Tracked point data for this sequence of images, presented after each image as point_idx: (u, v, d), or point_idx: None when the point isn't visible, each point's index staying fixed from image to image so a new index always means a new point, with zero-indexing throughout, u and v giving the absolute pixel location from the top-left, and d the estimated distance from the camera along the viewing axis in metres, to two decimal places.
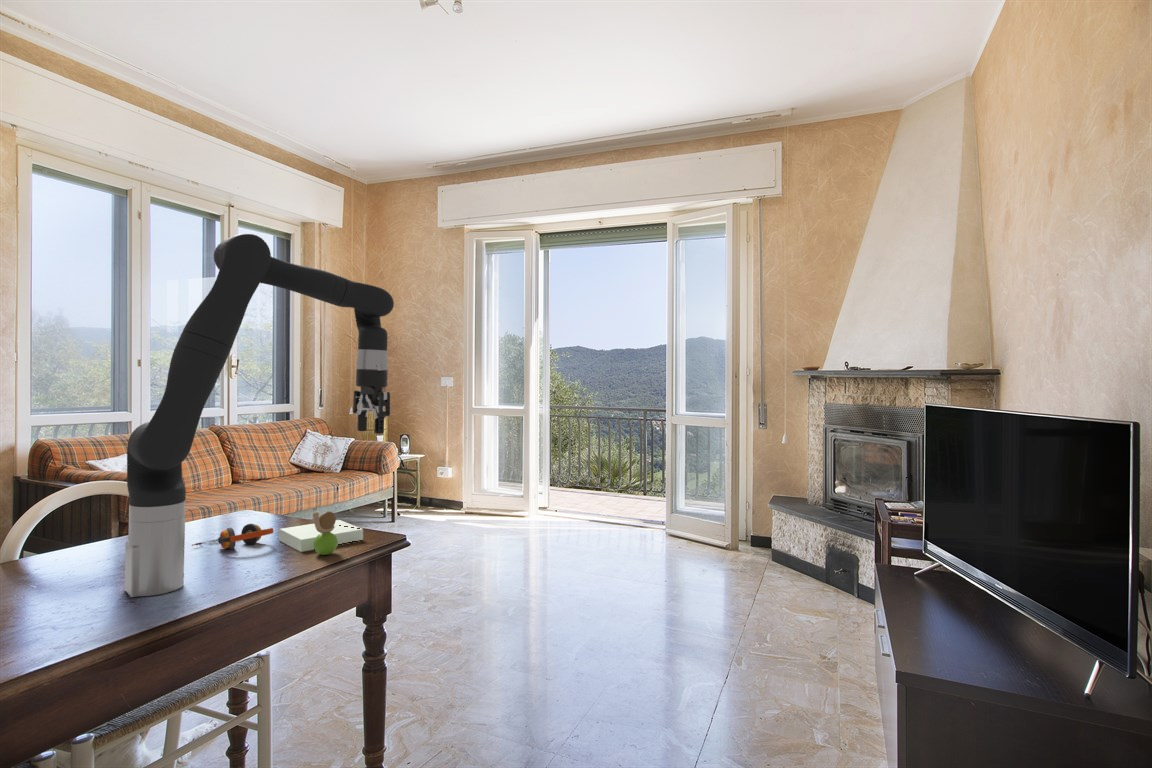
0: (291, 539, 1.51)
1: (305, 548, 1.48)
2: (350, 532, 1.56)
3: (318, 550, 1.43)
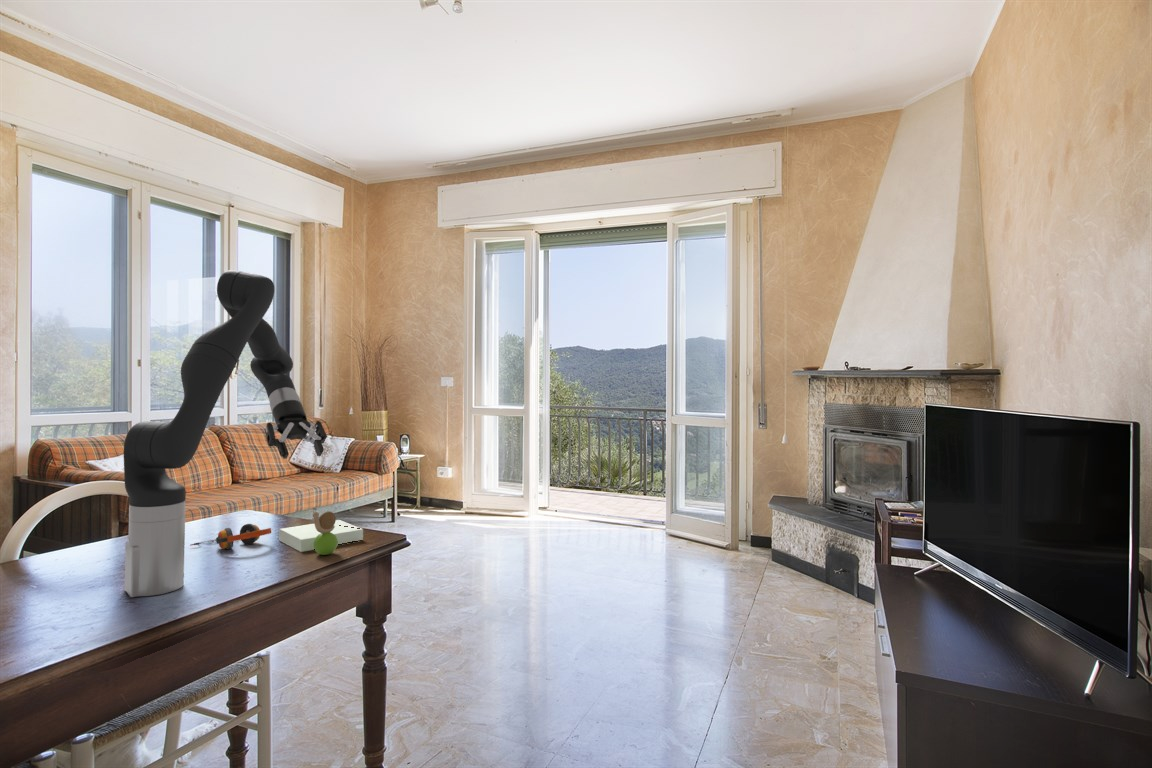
0: (291, 539, 1.51)
1: (305, 548, 1.48)
2: (350, 532, 1.56)
3: (318, 550, 1.43)
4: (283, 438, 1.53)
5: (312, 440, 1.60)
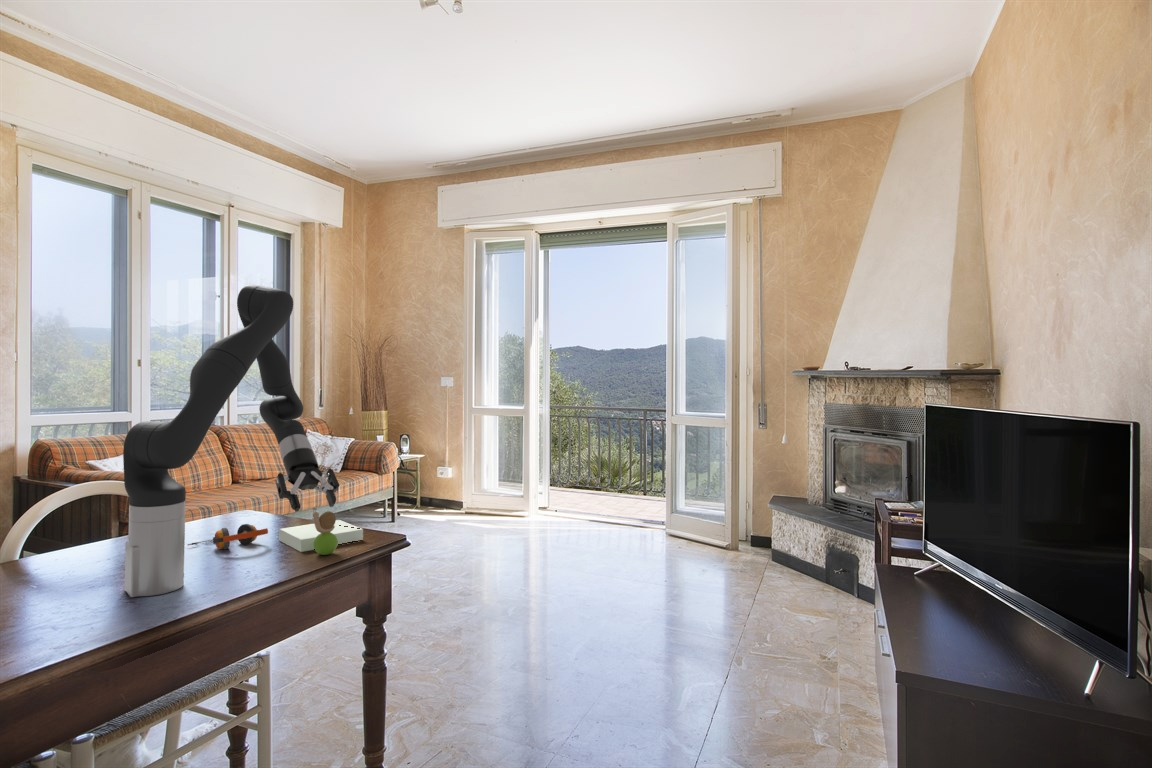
0: (291, 539, 1.51)
1: (305, 548, 1.48)
2: (350, 532, 1.56)
3: (318, 550, 1.43)
4: (295, 490, 1.47)
5: (324, 489, 1.54)
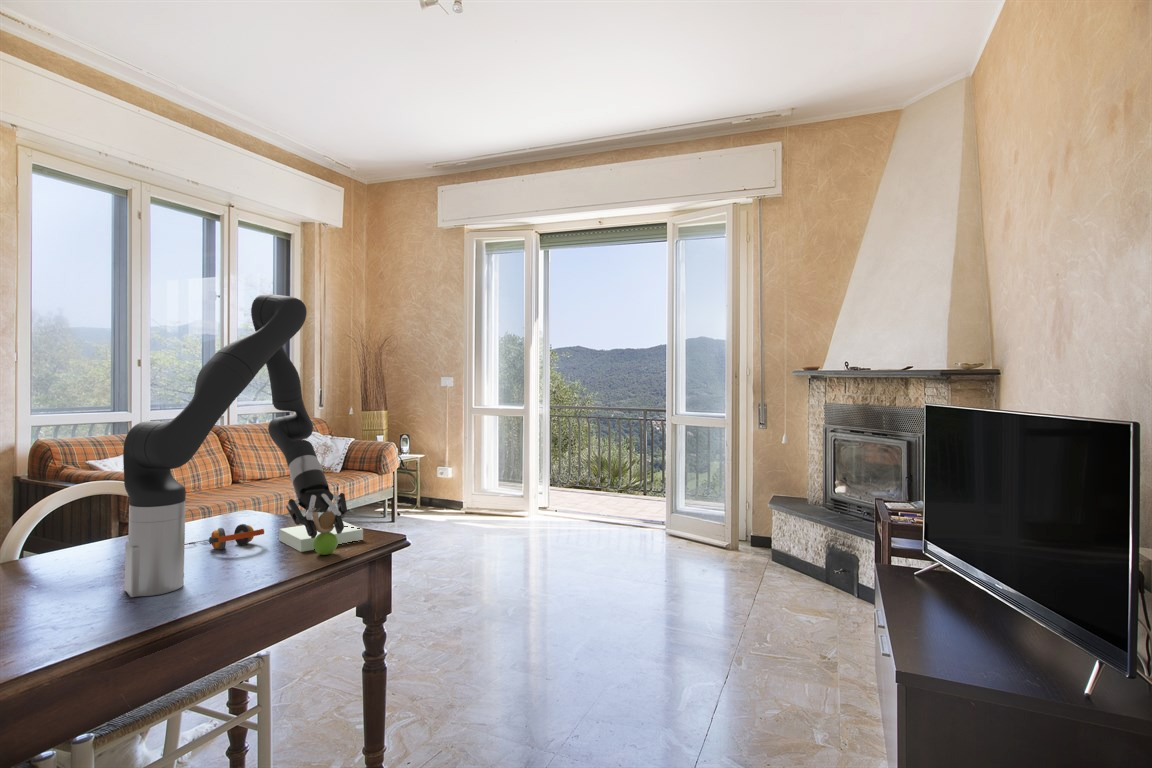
0: (291, 539, 1.51)
1: (305, 548, 1.48)
2: (350, 532, 1.56)
3: (318, 550, 1.43)
4: (310, 515, 1.43)
5: None
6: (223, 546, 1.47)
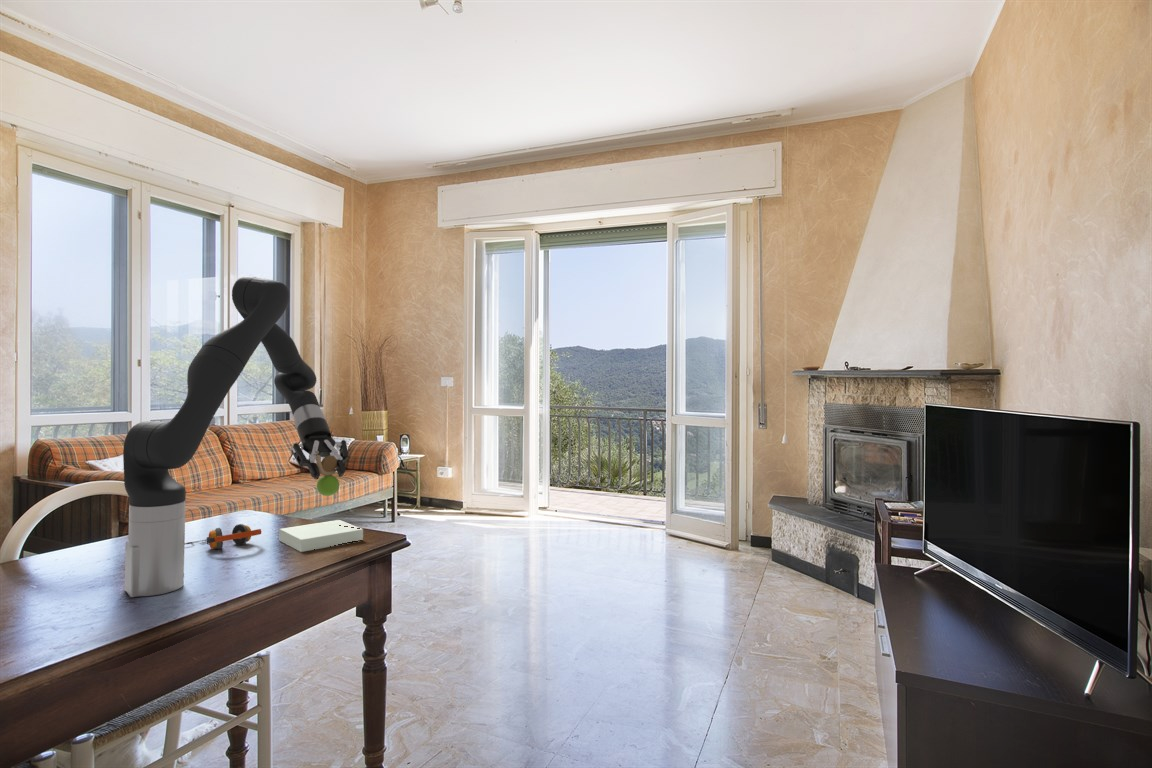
0: (291, 539, 1.51)
1: (305, 548, 1.48)
2: (350, 532, 1.56)
3: (321, 491, 1.52)
4: (313, 458, 1.53)
5: None
6: (220, 546, 1.46)
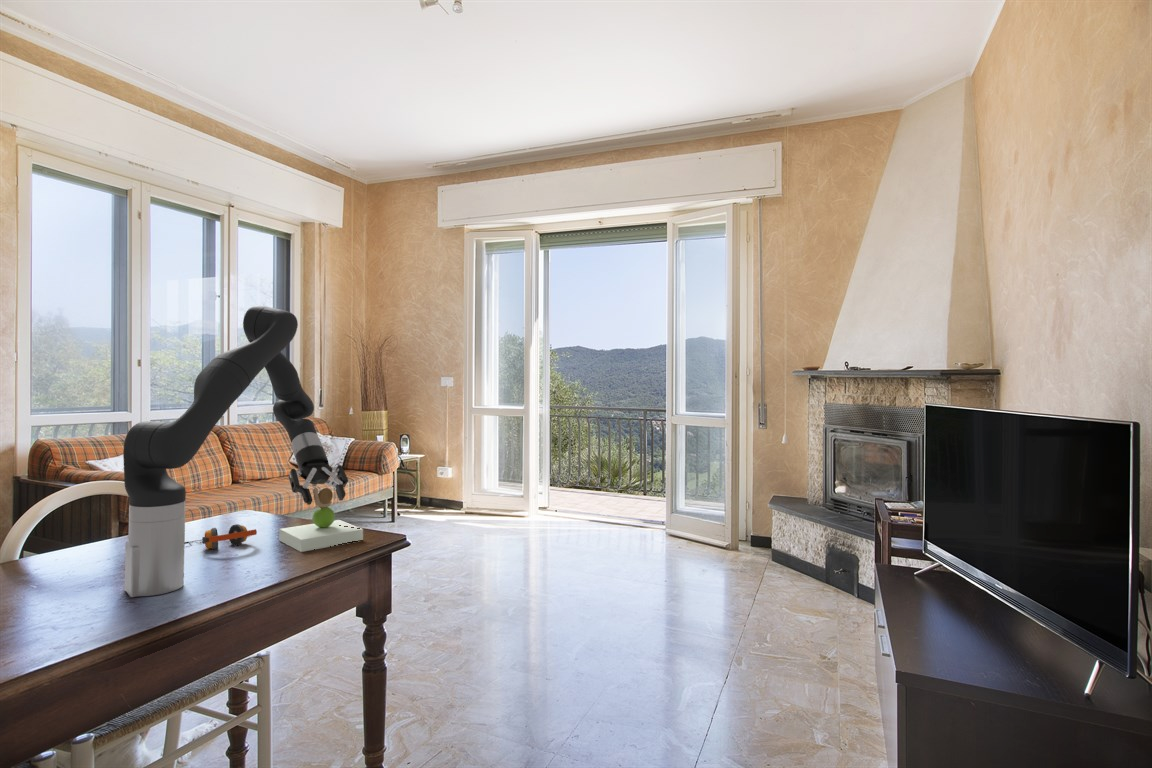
0: (291, 539, 1.51)
1: (305, 548, 1.48)
2: (350, 532, 1.56)
3: (317, 523, 1.57)
4: (307, 484, 1.57)
5: (334, 484, 1.64)
6: (215, 546, 1.46)
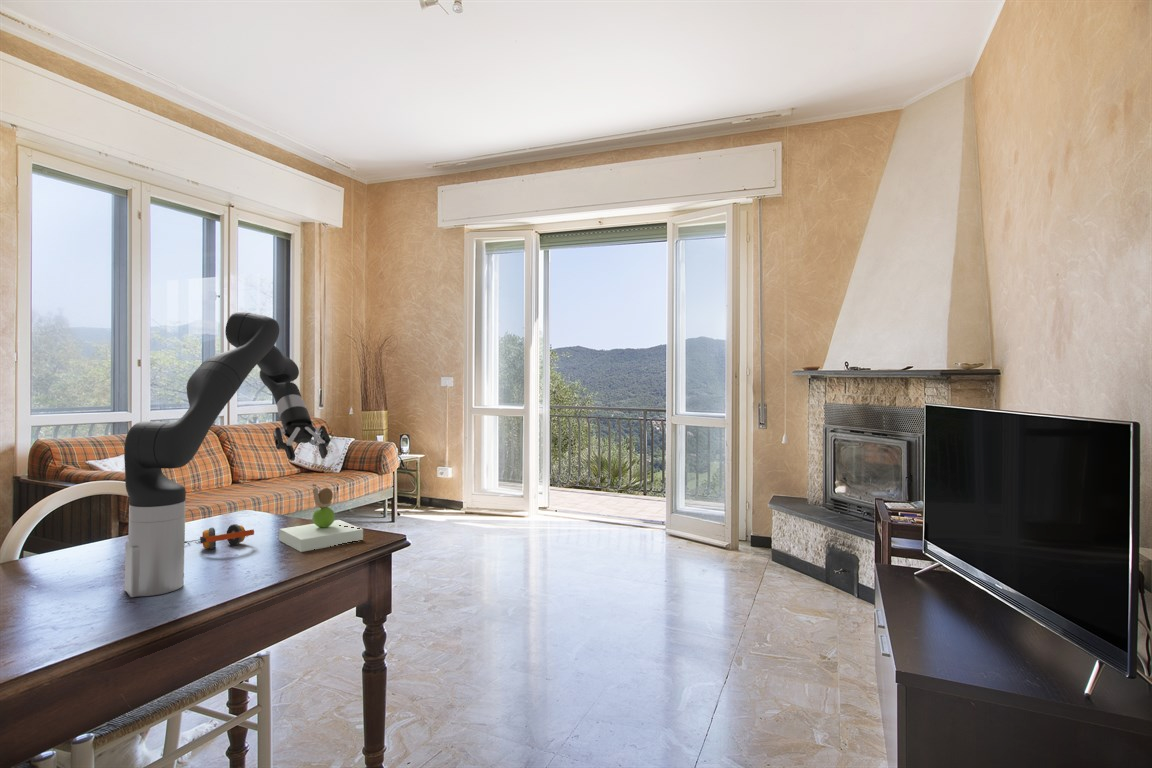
0: (291, 539, 1.51)
1: (305, 548, 1.48)
2: (350, 532, 1.56)
3: (317, 523, 1.57)
4: (290, 442, 1.65)
5: (317, 443, 1.72)
6: (213, 546, 1.46)
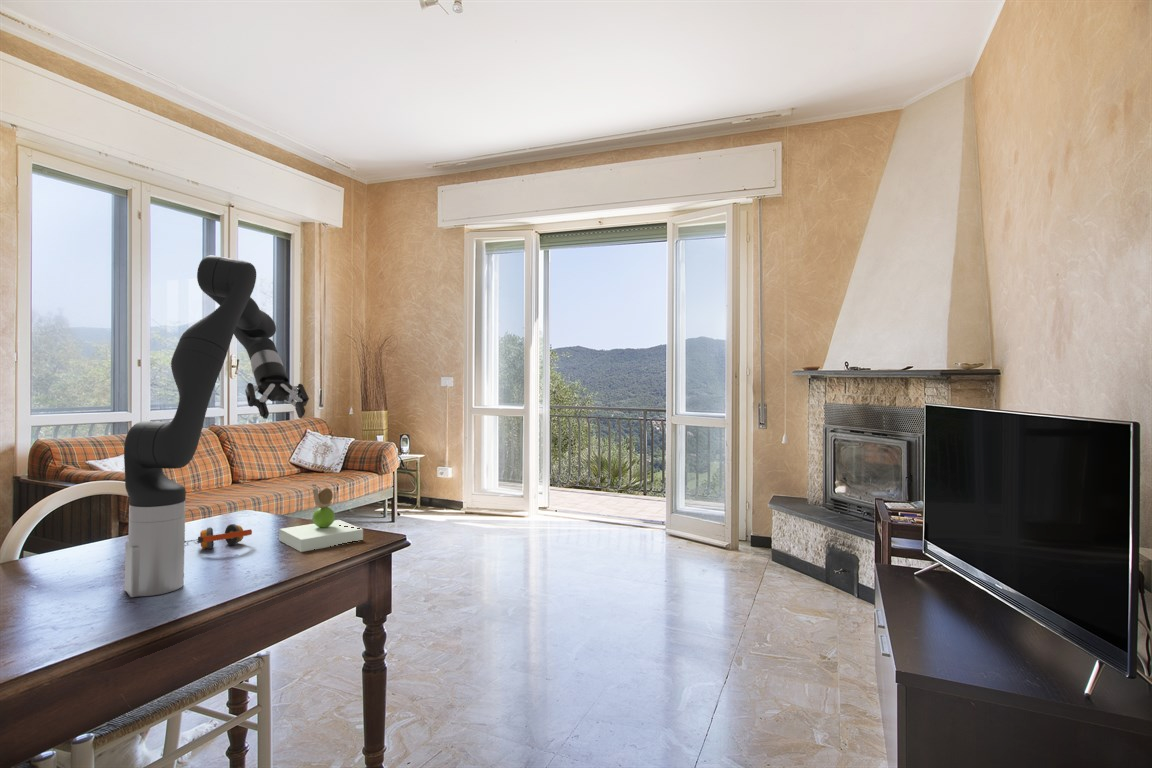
0: (291, 539, 1.51)
1: (305, 548, 1.48)
2: (350, 532, 1.56)
3: (317, 523, 1.57)
4: (264, 398, 1.51)
5: (294, 402, 1.58)
6: (210, 546, 1.46)
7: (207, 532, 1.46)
